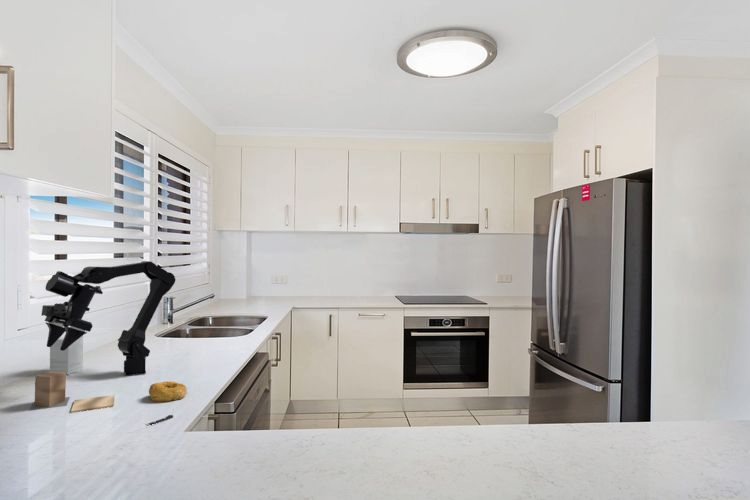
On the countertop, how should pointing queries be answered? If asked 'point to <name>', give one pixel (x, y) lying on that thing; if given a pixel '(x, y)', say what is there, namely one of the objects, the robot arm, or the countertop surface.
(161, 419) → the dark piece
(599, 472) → the countertop surface
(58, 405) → the gray mat
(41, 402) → the walnut block
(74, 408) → the coaster
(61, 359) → the supplement box
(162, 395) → the bagel
